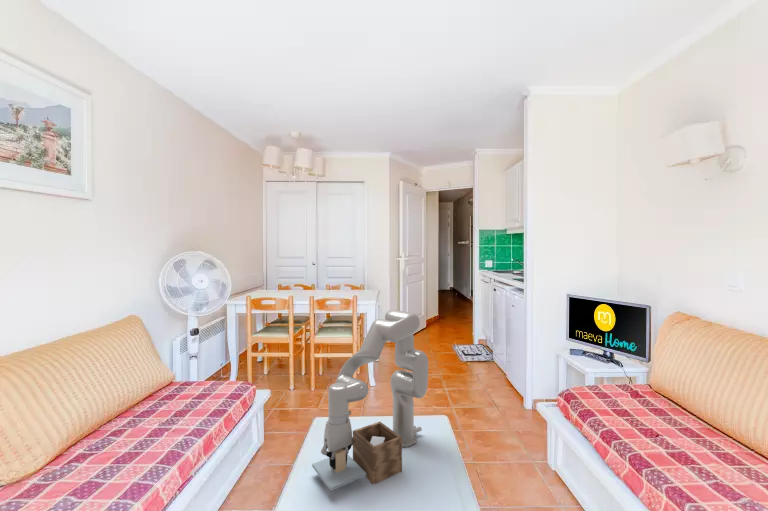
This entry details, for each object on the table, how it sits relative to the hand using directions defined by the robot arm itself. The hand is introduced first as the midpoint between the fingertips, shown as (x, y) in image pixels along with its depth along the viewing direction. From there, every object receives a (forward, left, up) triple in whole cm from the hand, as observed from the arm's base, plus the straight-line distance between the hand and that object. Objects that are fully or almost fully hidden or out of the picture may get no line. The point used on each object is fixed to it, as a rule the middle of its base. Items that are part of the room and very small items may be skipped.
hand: (338, 464), depth 130 cm
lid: (0, 0, -3) cm, 3 cm away
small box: (-16, +2, -6) cm, 17 cm away
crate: (-16, +2, -6) cm, 17 cm away
